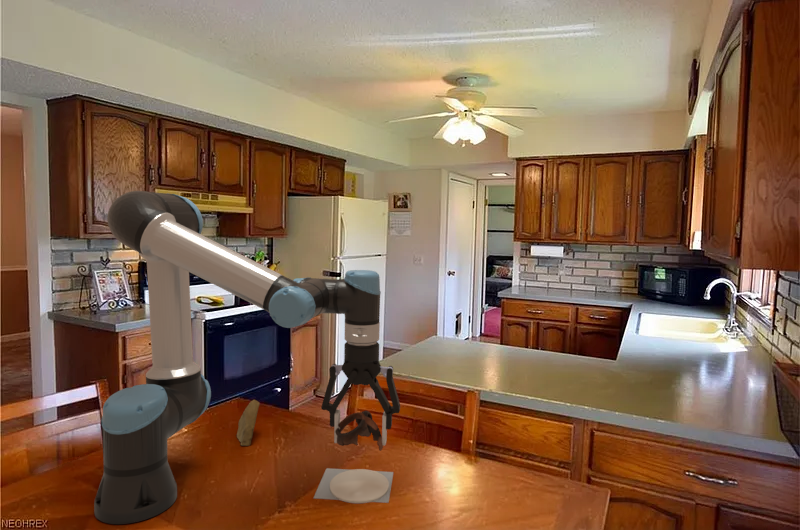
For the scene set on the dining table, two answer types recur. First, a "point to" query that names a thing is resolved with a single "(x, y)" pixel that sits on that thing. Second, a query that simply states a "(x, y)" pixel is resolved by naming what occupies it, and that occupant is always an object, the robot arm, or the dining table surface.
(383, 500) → the felt placemat
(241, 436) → the rock
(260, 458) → the dining table surface
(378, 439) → the broken terracotta ring
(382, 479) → the cream round plate
